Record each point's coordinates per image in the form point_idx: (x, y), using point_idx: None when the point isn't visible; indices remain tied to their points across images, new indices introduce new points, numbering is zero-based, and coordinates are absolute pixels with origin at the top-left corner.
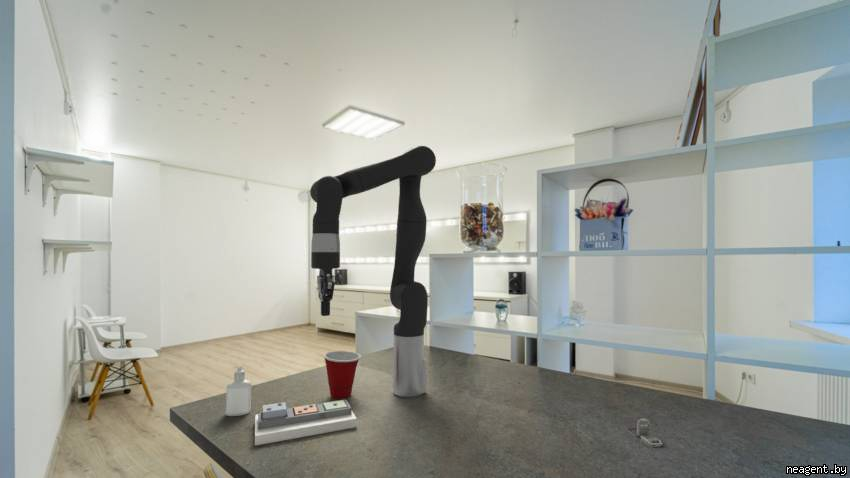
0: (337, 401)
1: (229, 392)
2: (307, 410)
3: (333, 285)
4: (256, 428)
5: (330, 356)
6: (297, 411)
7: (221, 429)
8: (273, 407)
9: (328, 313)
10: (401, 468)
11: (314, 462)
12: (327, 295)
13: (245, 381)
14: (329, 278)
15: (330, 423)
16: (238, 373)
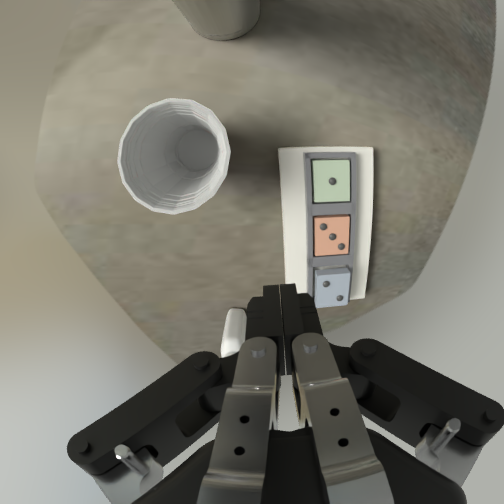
0: (315, 173)
1: None
2: (339, 233)
3: (489, 406)
4: None
5: (141, 189)
6: (336, 250)
7: None
8: (334, 292)
9: (308, 295)
10: (476, 134)
11: (432, 223)
12: (372, 385)
13: (237, 348)
14: (462, 479)
15: (372, 194)
16: None
